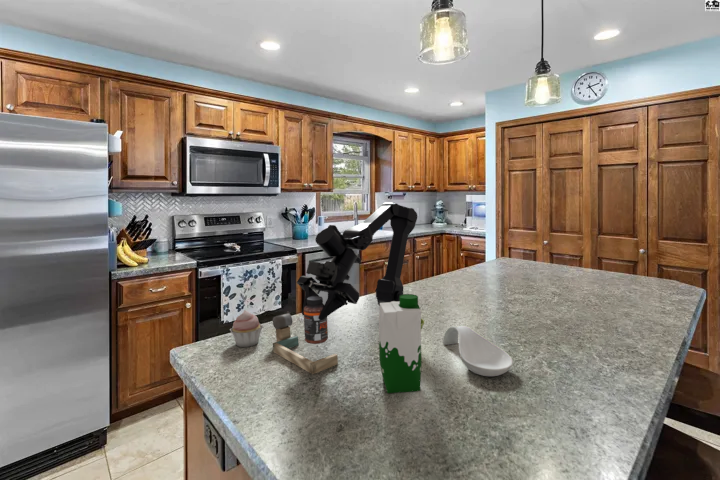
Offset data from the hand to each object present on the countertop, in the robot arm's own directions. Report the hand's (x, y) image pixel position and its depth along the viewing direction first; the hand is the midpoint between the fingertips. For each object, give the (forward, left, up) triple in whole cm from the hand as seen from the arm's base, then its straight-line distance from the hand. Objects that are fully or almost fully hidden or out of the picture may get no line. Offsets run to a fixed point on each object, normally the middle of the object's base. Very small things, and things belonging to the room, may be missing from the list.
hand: (311, 317), depth 93 cm
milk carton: (-23, +9, -12) cm, 27 cm away
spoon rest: (-40, -5, -12) cm, 42 cm away
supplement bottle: (-1, -1, -7) cm, 7 cm away
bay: (+3, -3, -12) cm, 13 cm away
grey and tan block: (+12, -11, -12) cm, 21 cm away
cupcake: (+23, -11, -12) cm, 28 cm away
